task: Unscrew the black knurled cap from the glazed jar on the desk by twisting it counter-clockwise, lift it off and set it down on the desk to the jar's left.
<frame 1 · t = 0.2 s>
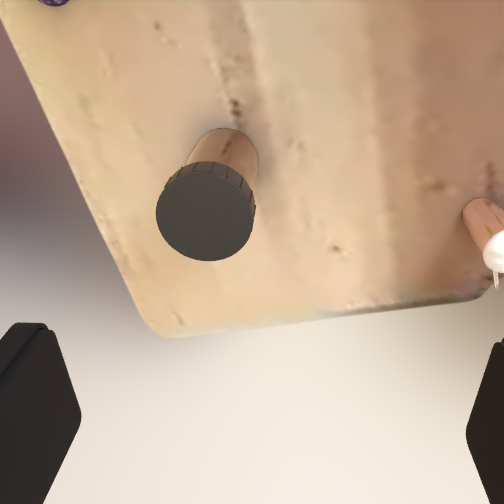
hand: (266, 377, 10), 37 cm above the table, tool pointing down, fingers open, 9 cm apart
cap: (205, 217, 35), point 13 cm above the table, screwed on, not yet turned
jar: (225, 160, 46), on the table
milkshake: (475, 214, 47), on the table
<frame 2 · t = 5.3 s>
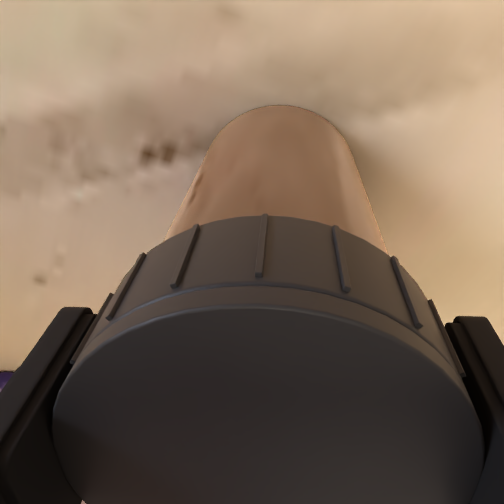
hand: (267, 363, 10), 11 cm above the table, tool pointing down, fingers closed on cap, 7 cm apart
cap: (262, 449, 8), point 13 cm above the table, screwed on, not yet turned, touching gripper
jar: (278, 182, 19), on the table
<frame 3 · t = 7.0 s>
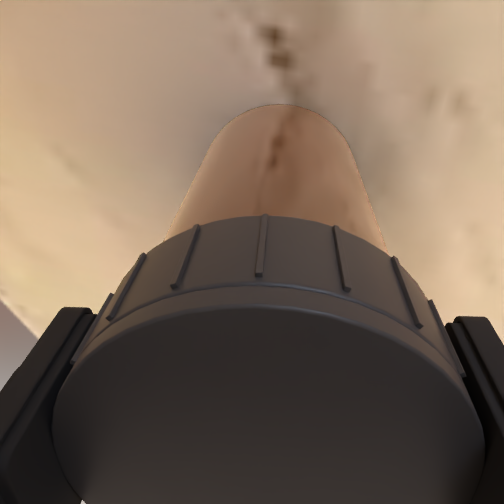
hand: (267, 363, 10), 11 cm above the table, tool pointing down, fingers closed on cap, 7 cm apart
cap: (262, 449, 8), point 13 cm above the table, turned 76° so far, risen 0.1 cm, still on its thread, touching gripper
jar: (278, 181, 19), on the table
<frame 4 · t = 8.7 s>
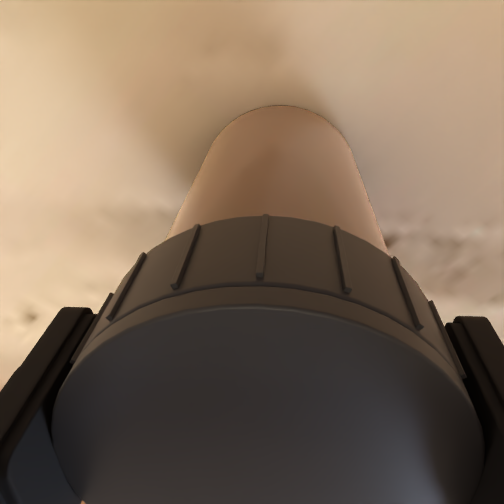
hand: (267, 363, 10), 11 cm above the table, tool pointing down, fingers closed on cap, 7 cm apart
cap: (262, 449, 8), point 13 cm above the table, off its thread, touching gripper
jar: (279, 182, 19), on the table
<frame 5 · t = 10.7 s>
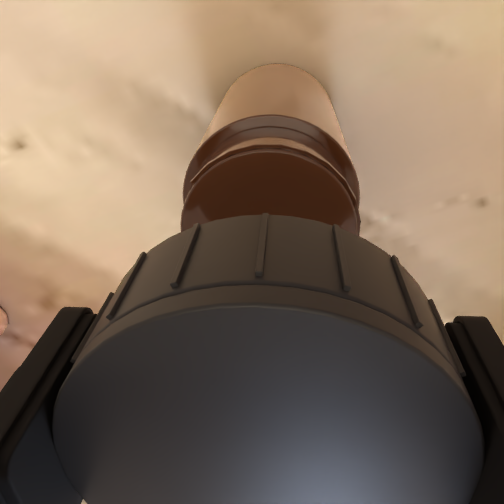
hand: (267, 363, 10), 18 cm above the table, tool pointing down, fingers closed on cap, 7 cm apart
cap: (262, 448, 8), point 21 cm above the table, off its thread, touching gripper
jar: (275, 125, 26), on the table
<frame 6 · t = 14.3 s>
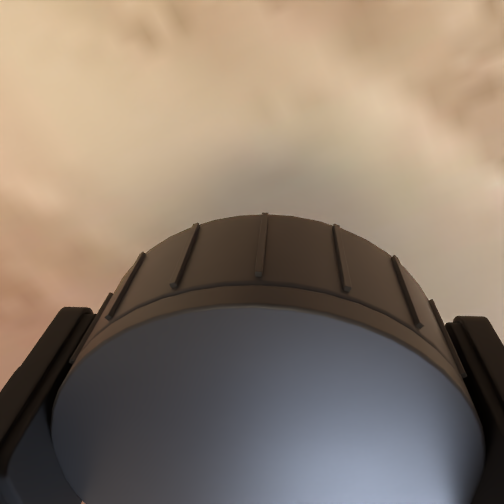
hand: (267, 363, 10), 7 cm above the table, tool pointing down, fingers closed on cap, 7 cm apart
cap: (262, 449, 8), point 9 cm above the table, off its thread, touching gripper
when the fingers open (0 cm above the table, at t = 16.6 s): cap stays where it is, point 2 cm above the table.
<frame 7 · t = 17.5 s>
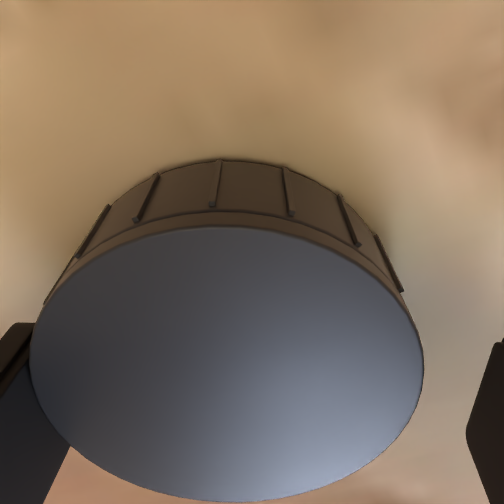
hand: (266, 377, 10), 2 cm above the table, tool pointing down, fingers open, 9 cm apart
cap: (228, 376, 9), point 2 cm above the table, off its thread, touching gripper
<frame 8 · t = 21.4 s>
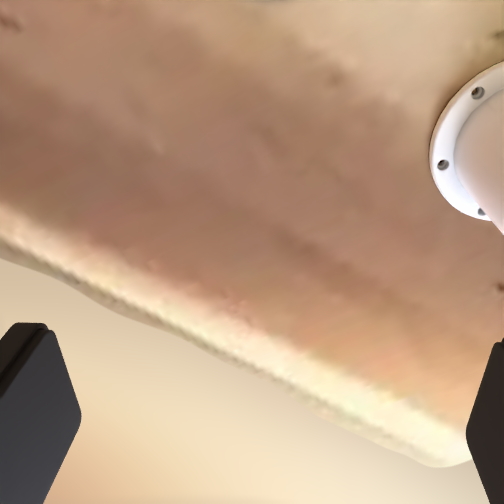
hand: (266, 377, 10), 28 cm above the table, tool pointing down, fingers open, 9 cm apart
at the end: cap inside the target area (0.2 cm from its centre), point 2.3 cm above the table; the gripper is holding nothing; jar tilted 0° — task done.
